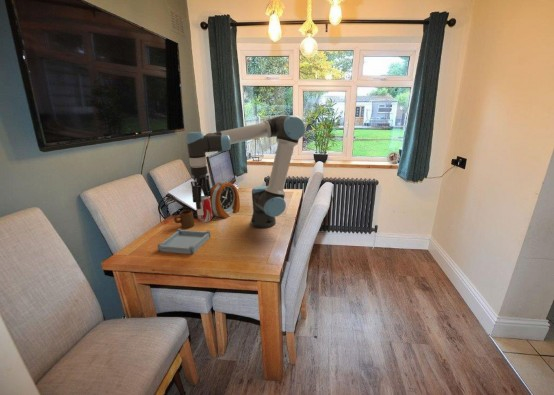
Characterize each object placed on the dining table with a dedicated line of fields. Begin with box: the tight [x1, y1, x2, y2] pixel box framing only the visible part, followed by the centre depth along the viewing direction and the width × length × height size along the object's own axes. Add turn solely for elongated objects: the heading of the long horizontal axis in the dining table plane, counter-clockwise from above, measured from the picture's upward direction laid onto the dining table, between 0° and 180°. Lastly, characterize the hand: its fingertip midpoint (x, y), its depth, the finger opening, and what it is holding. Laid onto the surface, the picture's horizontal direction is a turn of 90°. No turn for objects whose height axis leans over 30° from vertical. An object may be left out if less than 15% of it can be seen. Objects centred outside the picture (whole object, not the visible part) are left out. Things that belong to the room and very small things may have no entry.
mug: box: [173, 209, 195, 229], centre depth 158 cm, size 12×8×9 cm, turn 142°
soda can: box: [195, 195, 213, 223], centre depth 129 cm, size 7×7×12 cm
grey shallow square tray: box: [157, 228, 211, 255], centre depth 139 cm, size 19×19×4 cm
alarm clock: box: [209, 180, 241, 219], centre depth 175 cm, size 22×10×23 cm, turn 150°
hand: (204, 211), depth 129 cm, fingers closed on soda can, 7 cm apart
